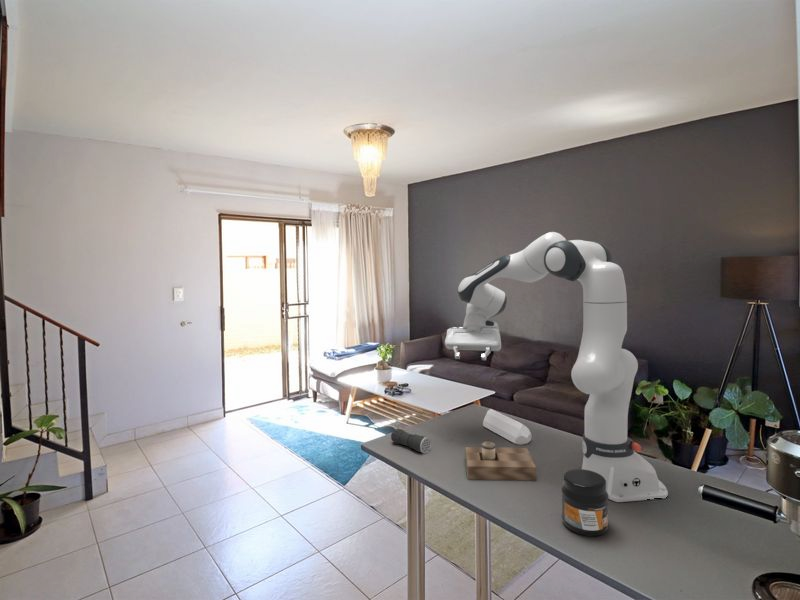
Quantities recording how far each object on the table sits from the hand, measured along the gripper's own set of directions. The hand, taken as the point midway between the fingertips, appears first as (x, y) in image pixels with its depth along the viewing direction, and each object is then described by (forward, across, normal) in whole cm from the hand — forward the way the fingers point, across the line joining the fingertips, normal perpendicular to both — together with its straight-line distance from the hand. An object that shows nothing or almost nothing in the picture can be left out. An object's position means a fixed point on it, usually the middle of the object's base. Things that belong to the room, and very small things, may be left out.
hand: (470, 358), depth 153 cm
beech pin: (+34, +9, +10) cm, 37 cm away
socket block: (+34, +12, +11) cm, 37 cm away
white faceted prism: (+12, +10, +32) cm, 36 cm away
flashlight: (+28, -20, +17) cm, 39 cm away
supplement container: (+50, +36, -6) cm, 62 cm away
